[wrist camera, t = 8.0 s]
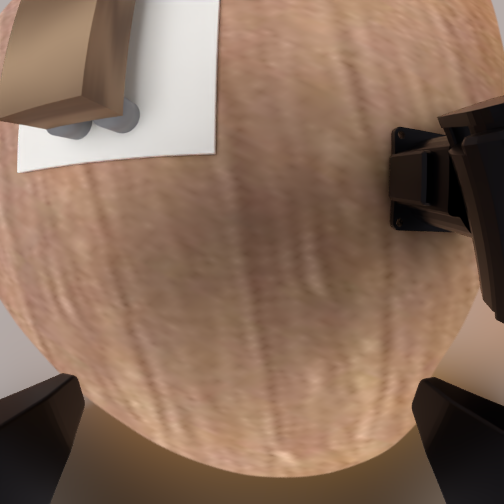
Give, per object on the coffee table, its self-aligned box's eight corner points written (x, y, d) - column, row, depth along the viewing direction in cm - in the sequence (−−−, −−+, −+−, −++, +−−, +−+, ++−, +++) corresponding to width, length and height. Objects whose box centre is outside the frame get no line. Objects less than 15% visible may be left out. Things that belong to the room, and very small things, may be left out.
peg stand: (223, -49, 14) (220, -76, 11) (215, 154, 18) (209, 148, 14) (52, -12, 14) (33, -29, 11) (23, 172, 17) (-6, 173, 14)
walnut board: (122, 115, 14) (81, 95, 9) (45, 129, 14) (-5, 120, 9) (146, -50, 11) (127, -91, 7) (77, -31, 11) (48, -63, 7)
